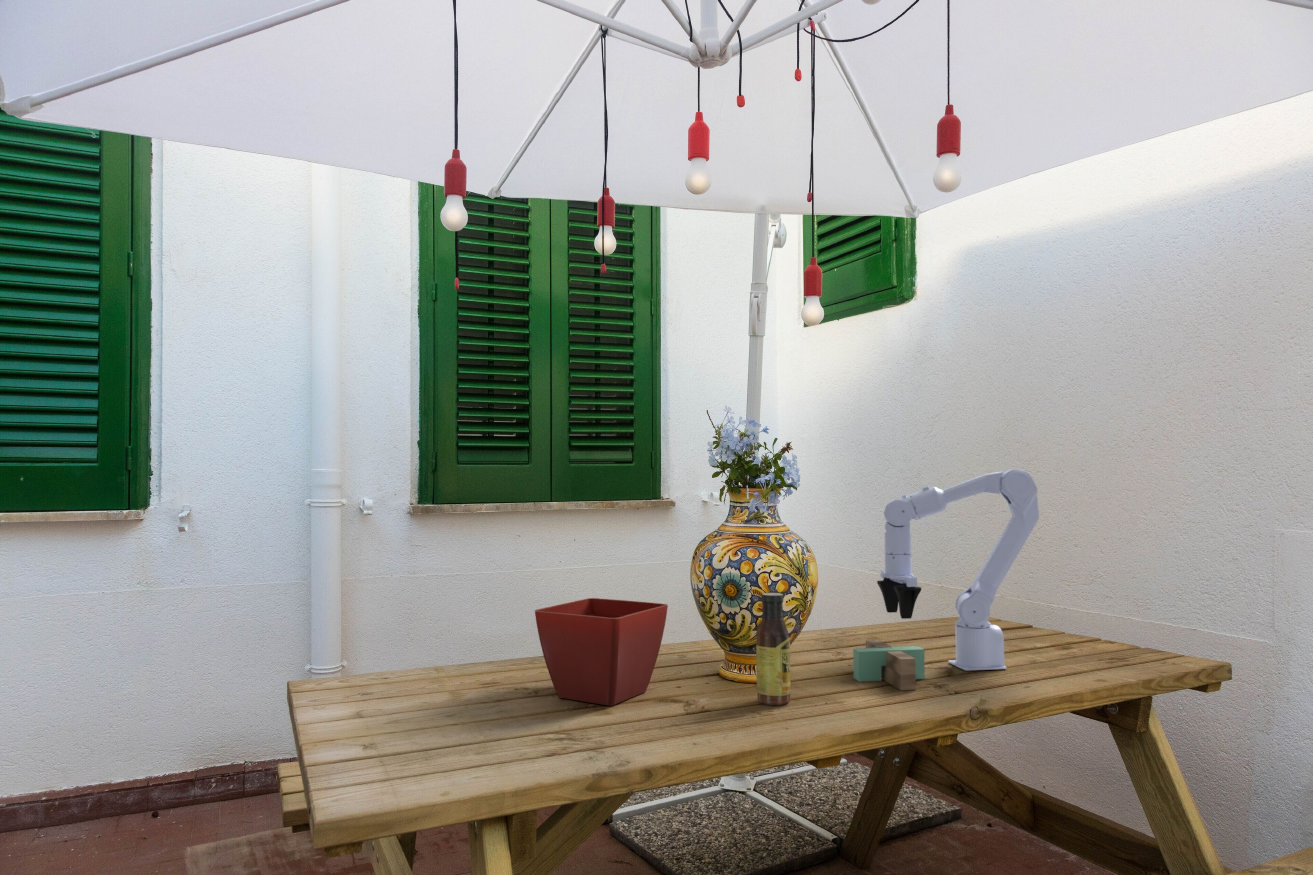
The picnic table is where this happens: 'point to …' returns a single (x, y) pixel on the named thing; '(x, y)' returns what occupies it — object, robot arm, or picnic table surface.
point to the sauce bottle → (773, 653)
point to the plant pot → (601, 647)
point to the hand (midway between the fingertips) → (898, 615)
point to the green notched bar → (883, 661)
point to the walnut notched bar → (897, 667)
